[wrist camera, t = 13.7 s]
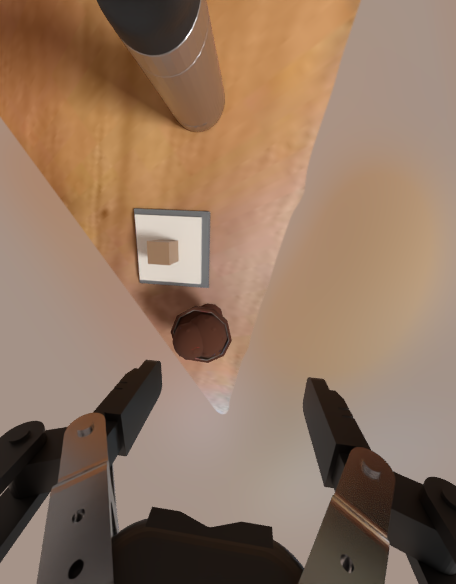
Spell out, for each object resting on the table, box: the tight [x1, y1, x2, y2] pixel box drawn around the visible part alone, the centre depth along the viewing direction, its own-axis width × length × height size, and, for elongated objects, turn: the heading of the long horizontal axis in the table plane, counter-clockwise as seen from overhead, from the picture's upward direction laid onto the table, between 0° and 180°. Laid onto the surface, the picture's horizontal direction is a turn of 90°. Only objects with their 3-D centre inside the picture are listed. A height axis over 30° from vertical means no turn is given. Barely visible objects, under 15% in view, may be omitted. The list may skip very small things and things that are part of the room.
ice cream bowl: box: [171, 304, 232, 363], centre depth 40 cm, size 11×11×15 cm
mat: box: [134, 209, 210, 288], centre depth 43 cm, size 15×15×1 cm
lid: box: [135, 214, 202, 284], centre depth 40 cm, size 13×13×6 cm
